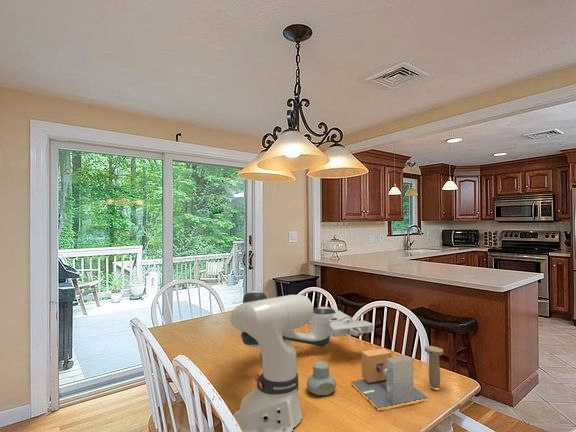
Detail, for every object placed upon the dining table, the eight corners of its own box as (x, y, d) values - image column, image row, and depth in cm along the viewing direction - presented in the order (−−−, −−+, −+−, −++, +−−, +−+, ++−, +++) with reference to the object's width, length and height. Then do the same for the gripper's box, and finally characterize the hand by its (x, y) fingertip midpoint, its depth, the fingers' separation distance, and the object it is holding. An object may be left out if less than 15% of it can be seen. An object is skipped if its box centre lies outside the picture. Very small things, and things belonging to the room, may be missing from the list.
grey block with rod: (393, 404, 111) (393, 363, 111) (369, 383, 126) (368, 346, 126) (413, 400, 113) (412, 359, 114) (387, 380, 128) (386, 344, 129)
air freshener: (311, 399, 117) (311, 371, 117) (303, 388, 125) (303, 362, 125) (339, 394, 120) (339, 367, 121) (330, 384, 128) (329, 358, 128)
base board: (378, 411, 109) (378, 407, 109) (351, 384, 128) (351, 381, 128) (428, 400, 115) (428, 397, 115) (395, 376, 133) (395, 373, 133)
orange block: (368, 382, 125) (368, 356, 125) (362, 376, 130) (361, 351, 130) (391, 378, 128) (390, 352, 128) (384, 373, 132) (383, 348, 133)
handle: (428, 383, 127) (428, 344, 128) (446, 389, 123) (445, 349, 123) (423, 388, 124) (422, 348, 124) (440, 394, 119) (439, 353, 120)
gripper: (364, 328, 158) (380, 338, 145) (325, 333, 152) (338, 344, 139) (364, 315, 158) (380, 324, 145) (325, 320, 152) (338, 329, 139)
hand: (359, 334), depth 142 cm, fingers closed
